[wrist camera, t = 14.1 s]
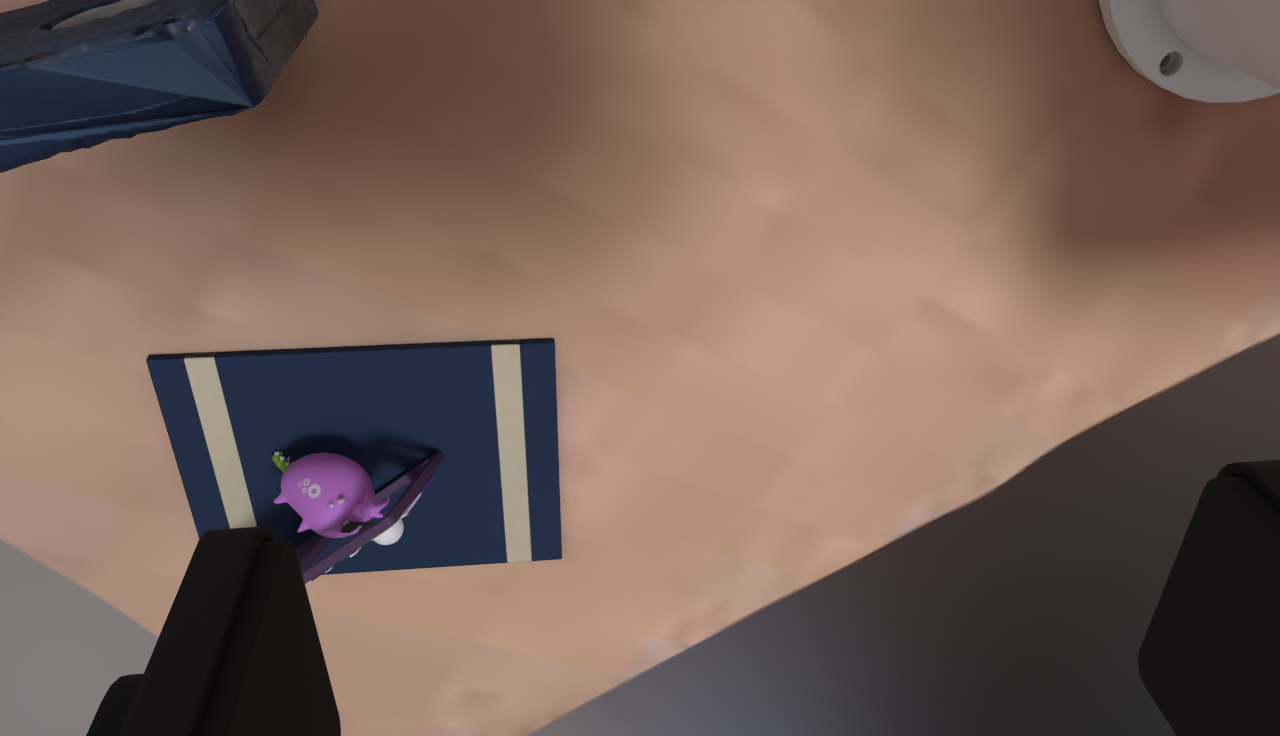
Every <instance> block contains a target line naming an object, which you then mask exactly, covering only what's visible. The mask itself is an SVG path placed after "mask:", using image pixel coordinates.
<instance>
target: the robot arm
mask: <svg viewBox="0 0 1280 736" xmlns="http://www.w3.org/2000/svg"><path fill="white" fill-rule="evenodd" d="M1098 1H1099V4H1100V8H1101V12H1102V16H1103V20H1104V23H1105V27H1106V29H1107V31H1108V33H1109V35H1110V37H1111V38H1112V40H1113V42H1114V44H1115V46H1116V48H1117V50H1118V52H1119V53H1120V54H1121V55H1122V56H1123V57H1124V59H1125V60H1126V61H1127V62H1128V63H1129V64H1130V65H1131V66H1132V67H1133V68H1134V69H1135V71H1136V72H1138V73H1139V74H1141V75H1142V76H1144V77H1145V78H1147V79H1149V80H1150V81H1152V82H1153V83H1155V84H1156V85H1158V86H1160V87H1162V88H1164V89H1166V90H1168V91H1171V92H1173V93H1175V94H1177V95H1179V96H1181V97H1183V98H1188V99H1193V100H1198V101H1203V102H1208V103H1241V102H1246V101H1250V100H1255V99H1260V98H1265V97H1270V96H1273V95H1276V94H1278V93H1280V0H1098ZM1138 667H1139V673H1140V676H1141V679H1142V682H1143V683H1144V685H1145V687H1146V689H1147V691H1148V692H1149V694H1150V695H1151V697H1152V698H1153V700H1154V701H1155V703H1156V704H1157V706H1158V708H1159V709H1160V711H1161V712H1162V714H1163V715H1164V717H1165V718H1166V719H1167V721H1168V723H1169V724H1170V726H1171V728H1172V729H1173V731H1174V732H1175V734H1176V735H1177V736H1280V460H1270V461H1255V462H1239V463H1232V464H1228V465H1227V466H1225V467H1224V468H1222V469H1221V470H1220V472H1219V474H1218V475H1217V477H1216V478H1214V479H1211V480H1210V481H1209V482H1207V484H1206V486H1205V487H1204V489H1203V492H1202V494H1201V497H1200V499H1199V502H1198V504H1197V507H1196V509H1195V512H1194V514H1193V517H1192V519H1191V522H1190V524H1189V527H1188V530H1187V532H1186V534H1185V537H1184V539H1183V542H1182V544H1181V547H1180V549H1179V552H1178V554H1177V557H1176V560H1175V562H1174V565H1173V567H1172V570H1171V572H1170V575H1169V577H1168V580H1167V582H1166V585H1165V587H1164V590H1163V592H1162V595H1161V598H1160V600H1159V602H1158V605H1157V607H1156V610H1155V612H1154V615H1153V617H1152V620H1151V623H1150V625H1149V627H1148V630H1147V632H1146V635H1145V638H1144V640H1143V643H1142V645H1141V648H1140V651H1139V655H1138ZM86 736H341V727H340V718H339V713H338V709H337V706H336V702H335V698H334V694H333V690H332V687H331V683H330V679H329V675H328V671H327V667H326V664H325V660H324V656H323V652H322V648H321V645H320V641H319V637H318V633H317V629H316V626H315V622H314V618H313V614H312V610H311V606H310V603H309V599H308V595H307V591H306V587H305V584H304V580H303V576H302V572H301V568H300V565H299V561H298V557H297V553H296V549H295V547H294V544H293V542H292V541H291V540H276V539H275V536H274V533H273V531H272V530H271V529H270V528H269V527H267V526H260V527H245V528H229V529H214V530H207V531H206V532H204V533H203V535H202V536H201V538H200V540H199V542H198V544H197V546H196V549H195V551H194V554H193V556H192V559H191V561H190V563H189V566H188V568H187V571H186V573H185V576H184V578H183V580H182V583H181V585H180V588H179V590H178V592H177V595H176V597H175V600H174V602H173V605H172V607H171V609H170V612H169V614H168V617H167V619H166V622H165V624H164V626H163V629H162V631H161V634H160V636H159V638H158V641H157V643H156V646H155V648H154V651H153V653H152V655H151V658H150V660H149V663H148V665H147V668H146V670H145V672H144V674H134V675H126V676H122V677H120V678H119V679H117V680H116V681H115V682H114V683H113V684H112V685H111V686H110V688H109V690H108V691H107V693H106V695H105V697H104V698H103V700H102V702H101V704H100V706H99V709H98V711H97V713H96V715H95V717H94V720H93V722H92V724H91V726H90V729H89V731H88V733H87V735H86Z"/></svg>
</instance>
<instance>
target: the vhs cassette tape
mask: <svg viewBox="0 0 1280 736" xmlns="http://www.w3.org/2000/svg"><path fill="white" fill-rule="evenodd" d="M317 15H318V11H317V9H316V7H315V5H314V3H313V1H312V0H50V1H47V2H44V3H40V4H37V5H34V6H30V7H26V8H21V9H17V10H13V11H9V12H5V13H1V14H0V173H1V172H5V171H8V170H11V169H14V168H17V167H20V166H22V165H25V164H28V163H32V162H36V161H40V160H44V159H48V158H50V157H52V156H54V155H56V154H58V153H60V152H71V151H74V150H78V149H81V148H90V147H93V146H95V145H98V144H100V143H103V142H105V141H108V140H110V139H118V138H132V137H134V136H135V135H137V134H140V133H147V132H155V131H160V130H165V129H168V128H171V127H174V126H177V125H181V124H186V123H190V122H195V121H199V120H204V119H208V118H214V117H221V116H229V115H235V114H237V113H239V112H242V111H244V110H247V109H249V108H255V107H256V105H258V104H260V102H261V101H262V100H263V99H264V98H265V97H266V96H267V94H268V92H269V91H270V89H271V88H272V85H273V83H274V82H275V81H274V79H276V78H277V77H278V76H279V75H280V74H281V73H282V70H283V69H284V68H285V67H286V64H287V62H288V61H289V59H290V58H291V57H292V55H293V53H294V51H295V49H296V47H298V45H299V44H300V42H301V41H302V40H303V38H304V37H305V36H307V32H308V30H309V28H310V27H311V26H312V25H313V23H314V22H315V20H316V19H317V17H318V16H317Z"/></svg>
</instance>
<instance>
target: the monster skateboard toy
mask: <svg viewBox="0 0 1280 736" xmlns="http://www.w3.org/2000/svg"><path fill="white" fill-rule="evenodd" d="M272 459H273V461H274V462H275V463H276V465H277V467H278V468H280V469H281V471H282V472H283V473H284V474H283V476H282V479H281V493H280V494H279V496H278V497H277V498H276V499H275V500H274V503H276V504H280V503H284V502H286V503H288V504H290V505H291V507H292V508H293V509H294V510H295V511H296V512H297V513H298V514H299V515H300V516H301V517H302V519H303V521H302V523H301V525H300V527H299V529H298V531H297V532H302V531H305V530H307V529H312V530H313V531H315V532H316V534H314V535H313V536H311V537H310V538H308V539H307V540H305V541H304V542H302V543H301V544H299V545H298V546H296V547H295V549H296V553H297V557H298V561H299V565H300V568H301V572H302V576H303V580H304V584H305V583H307V582H308V581H310V580H311V581H313V580H314V579H316V578H317V577H319V576H320V575H322V574H323V573H326V572H328V571H329V570H330V569H332V568H333V567H332V566H333V565H334V564H336V563H337V562H339V563H340V562H342V561H343V560H345V559H346V558H348V557H352V556H354V555H355V554H356V553H357V552H358V551H359V549H360V548H361V546H363V545H364V544H366V543H368V542H369V541H372V540H374V541H375V542H376V543H378V544H381V545H390V544H393V543H395V542H396V541H398V540H399V538H400V537H401V535H402V533H403V529H404V526H403V521H402V518H403V517H405V516H407V515H408V513H409V511H410V509H411V508H412V507H413V505H415V503H416V501H417V500H418V499H419V497H420V495H421V494H422V493H421V492H422V491H423V490H424V489H425V488H426V486H427V485H428V484H429V482H430V481H431V479H432V477H433V475H432V474H433V473H434V471H435V470H436V469H437V467H438V466H439V465H440V463H441V462H442V460H443V459H444V457H443V456H442V454H441V453H440V452H439V451H438V452H436V453H435V454H433V455H432V456H430V457H429V458H427V459H426V460H424V461H423V462H421V463H420V464H418V465H417V466H415V467H414V468H412V469H411V470H409V471H408V472H406V473H405V474H403V475H402V476H400V477H399V478H397V479H396V480H394V481H393V482H392V483H390V484H389V485H387V486H386V487H384V488H383V489H381V490H380V491H378V492H377V493H375V492H374V488H373V484H372V482H371V479H370V477H369V476H368V474H367V472H366V471H365V470H364V469H363V468H362V467H361V466H360V465H359V464H358V463H356V462H355V461H353V460H351V459H349V458H347V457H344V456H341V455H338V454H333V453H314V454H310V455H307V456H304V457H302V458H300V459H298V460H296V461H295V462H294V461H293V462H292V463H289V459H290V457H289V458H287V459H285V458H284V456H282V452H281V453H279V452H278V453H276V452H275V454H274V455H273V456H272ZM405 484H410V485H409V486H408V487H407V489H406V490H405V491H404V492H403V494H402V495H401V496H400V498H399V499H398V500H397V501H396V503H395V504H394V505H393V507H392V508H391V509H390V510H389V512H388V513H387V514H386V516H385V517H384V518H382V519H381V520H380V521H378V522H377V523H375V524H374V525H372V524H373V522H374V521H372V522H370V521H371V520H372V518H373V517H375V518H381V517H383V514H381V513H380V510H382V509H383V508H384V507H385V506H387V505H388V503H389V500H390V494H392V493H393V492H395V491H396V490H398V489H399V488H401V487H402V486H404V485H405ZM387 496H388V497H387ZM386 497H387V498H386ZM384 498H386V499H385V500H384V501H383V502H380V501H381V500H383V499H384ZM371 525H372V526H371ZM370 526H371V527H370ZM356 533H357V534H358V533H360V534H358V535H357V536H355V537H354V538H352V539H351V540H349V541H348V542H346V543H345V544H343V545H342V546H340V547H339V548H337V549H336V550H334V551H333V552H331V553H330V554H328V555H327V556H325V557H324V558H322V559H321V560H319V561H318V562H316V563H315V564H313V565H312V566H310V565H311V564H312V562H313V561H314V560H315V559H316V558H317V557H318V555H319V554H320V553H321V552H322V551H323V550H324V548H325V547H326V546H327V545H328V544H329V542H330V541H331V540H332V539H333V538H341V537H346V536H350V535H353V534H356ZM309 566H310V567H309ZM308 567H309V568H308Z"/></svg>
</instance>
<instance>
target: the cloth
mask: <svg viewBox="0 0 1280 736" xmlns="http://www.w3.org/2000/svg"><path fill="white" fill-rule="evenodd" d="M146 361H147V365H148V368H149V371H150V375H151V378H152V381H153V385H154V388H155V391H156V395H157V398H158V401H159V405H160V408H161V411H162V415H163V418H164V422H165V425H166V428H167V432H168V435H169V438H170V442H171V445H172V448H173V452H174V455H175V458H176V462H177V465H178V468H179V472H180V475H181V478H182V482H183V485H184V489H185V492H186V495H187V499H188V502H189V505H190V509H191V512H192V515H193V519H194V522H195V525H196V529H197V532H198V535H199V539H200V538H201V536H202V535H203V533H204V532H206V531H207V530H214V529H229V528H245V527H260V526H267V527H269V528H270V529H271V530H272V531H273V533H274V536H275V539H276V540H291V541H292V542H293V544H294V547H296V546H298V545H299V544H301V543H302V542H304V541H305V540H307V539H308V538H310V537H311V536H313V535H314V534H316V532H315V531H313V530H312V529H307V530H305V531H302V532H297V531H298V529H299V527H300V525H301V523H302V521H303V519H302V517H301V516H300V515H299V514H298V513H297V512H296V511H295V510H294V509H293V508H292V507H291V505H290V504H288V503H286V502H284V503H280V504H276V503H274V500H275V499H276V498H277V497H278V496H279V494H280V493H281V479H282V476H283V474H284V473H283V472H282V471H281V469H280V468H278V467H277V465H276V463H275V462H274V461H273V459H272V456H273V455H274V454H275V452H276V453H278V452H279V453H281V452H282V456H284V458H285V459H287V458H289V457H290V459H289V463H292V462H293V461H294V462H295V461H296V460H298V459H300V458H302V457H304V456H307V455H310V454H314V453H333V454H338V455H341V456H344V457H347V458H349V459H351V460H353V461H355V462H356V463H358V464H359V465H360V466H361V467H362V468H363V469H364V470H365V471H366V472H367V474H368V476H369V477H370V479H371V482H372V484H373V488H374V492H375V493H377V492H378V491H380V490H381V489H383V488H384V487H386V486H387V485H389V484H390V483H392V482H393V481H394V480H396V479H397V478H399V477H400V476H402V475H403V474H405V473H406V472H408V471H409V470H411V469H412V468H414V467H415V466H417V465H418V464H420V463H421V462H423V461H424V460H426V459H427V458H429V457H430V456H432V455H433V454H435V453H436V452H438V451H439V452H440V453H441V454H442V456H443V457H444V459H443V460H442V462H441V463H440V465H439V466H438V467H437V469H436V470H435V471H434V473H433V474H432V475H433V477H432V479H431V481H430V482H429V484H428V485H427V486H426V488H425V489H424V490H423V491H422V492H421V493H422V494H421V495H420V497H419V499H418V500H417V501H416V503H415V505H413V507H412V508H411V509H410V511H409V513H408V515H407V516H405V517H403V518H402V521H403V526H404V529H403V533H402V535H401V537H400V538H399V540H398V541H396V542H395V543H393V544H390V545H381V544H378V543H376V542H375V541H374V540H372V541H369V542H368V543H366V544H364V545H363V546H361V548H360V549H359V551H358V552H357V553H356V554H355V555H354V556H352V557H348V558H346V559H345V560H343V561H342V562H340V563H339V562H337V563H336V564H334V565H333V566H332V567H333V568H332V569H330V570H329V571H328V572H326V573H323V574H322V575H325V574H341V573H356V572H371V571H387V570H402V569H417V568H432V567H448V566H463V565H478V564H494V563H511V562H526V561H539V560H555V559H562V548H561V519H560V489H559V459H558V429H557V399H556V370H555V342H554V339H532V340H506V341H484V342H460V343H436V344H412V345H389V346H365V347H341V348H317V349H293V350H269V351H245V352H221V353H195V354H174V355H150V356H149V357H148V358H147V360H146ZM409 485H410V484H405V485H404V486H402V487H401V488H399V489H398V490H396V491H395V492H393V493H392V494H390V500H389V503H388V505H387V506H385V507H384V508H383V509H382V510H380V513H381V514H383V517H381V518H375V517H373V518H372V520H371V521H370V522H372V521H374V522H373V524H372V525H374V524H375V523H377V522H378V521H380V520H381V519H382V518H384V517H385V516H386V514H387V513H388V512H389V510H390V509H391V508H392V507H393V505H394V504H395V503H396V501H397V500H398V499H399V498H400V496H401V495H402V494H403V492H404V491H405V490H406V489H407V487H408V486H409ZM387 497H388V496H387ZM387 497H386V498H387ZM386 498H384V499H383V500H381V501H380V502H383V501H384V500H385V499H386ZM372 525H371V526H372ZM371 526H370V527H371ZM358 534H360V533H358ZM358 534H357V533H356V534H353V535H350V536H346V537H341V538H333V539H332V540H331V541H330V542H329V544H328V545H327V546H326V547H325V548H324V550H323V551H322V552H321V553H320V554H319V555H318V557H317V558H316V559H315V560H314V561H313V562H312V564H311V565H310V566H312V565H313V564H315V563H316V562H318V561H319V560H321V559H322V558H324V557H325V556H327V555H328V554H330V553H331V552H333V551H334V550H336V549H337V548H339V547H340V546H342V545H343V544H345V543H346V542H348V541H349V540H351V539H352V538H354V537H355V536H357V535H358ZM310 566H309V567H310ZM309 567H308V568H309Z"/></svg>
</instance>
